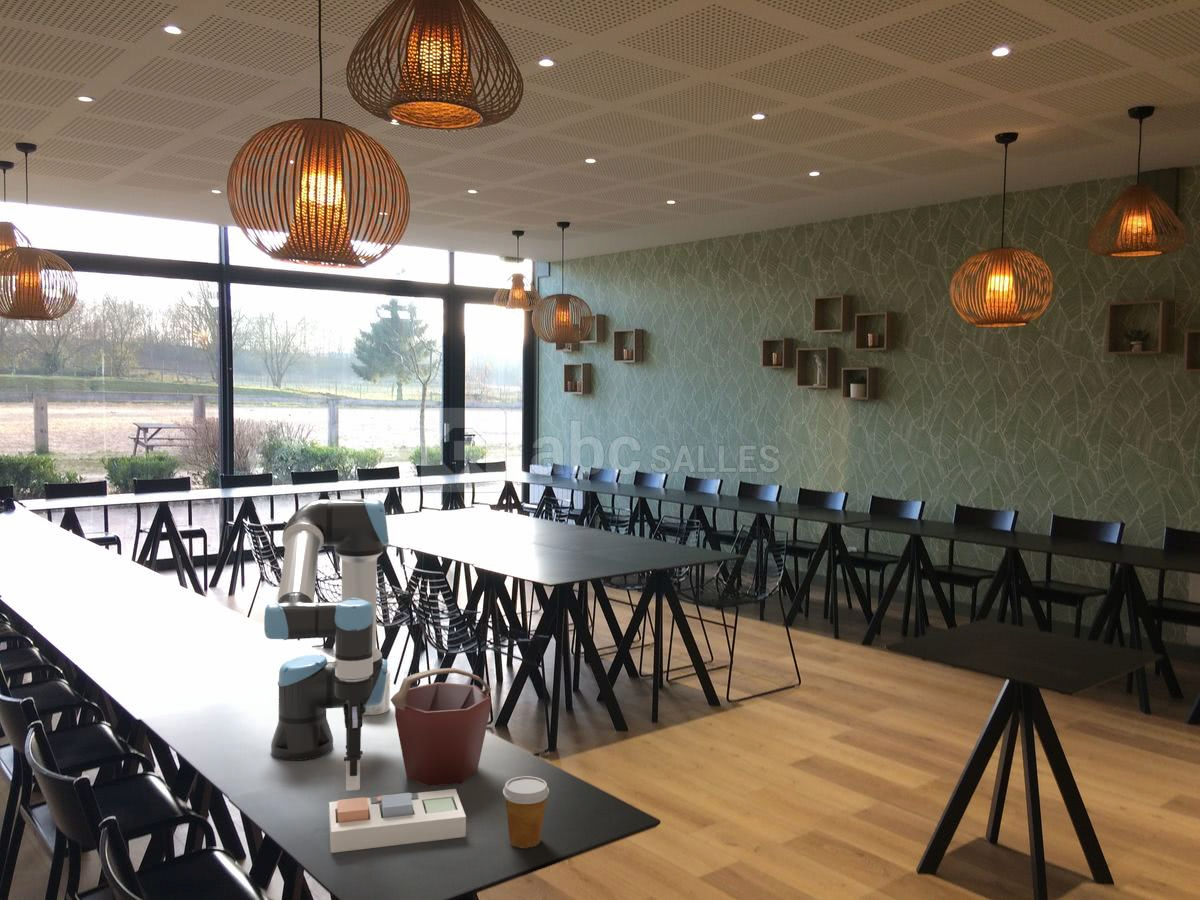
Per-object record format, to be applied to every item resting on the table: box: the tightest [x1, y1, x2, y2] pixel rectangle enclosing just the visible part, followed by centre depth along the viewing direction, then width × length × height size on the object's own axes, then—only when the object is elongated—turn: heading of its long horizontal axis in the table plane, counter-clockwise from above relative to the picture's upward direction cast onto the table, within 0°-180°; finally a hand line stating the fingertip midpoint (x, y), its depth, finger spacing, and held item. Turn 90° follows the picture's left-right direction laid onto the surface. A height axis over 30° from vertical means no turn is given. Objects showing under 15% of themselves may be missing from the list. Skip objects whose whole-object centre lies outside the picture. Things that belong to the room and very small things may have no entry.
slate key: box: [380, 792, 413, 818], centre depth 198 cm, size 6×6×2 cm
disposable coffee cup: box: [502, 775, 550, 849], centre depth 194 cm, size 10×10×12 cm
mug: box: [363, 668, 391, 716], centre depth 270 cm, size 10×12×11 cm
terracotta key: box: [337, 796, 368, 823], centre depth 195 cm, size 6×6×2 cm
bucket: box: [390, 667, 492, 787], centre depth 228 cm, size 24×22×25 cm
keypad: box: [328, 788, 467, 854], centre depth 198 cm, size 14×27×5 cm, turn 107°
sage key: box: [424, 798, 456, 813], centre depth 201 cm, size 6×6×2 cm
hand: (352, 788), depth 195 cm, fingers closed
